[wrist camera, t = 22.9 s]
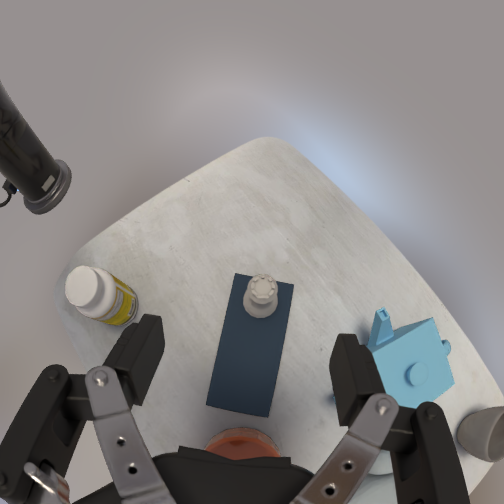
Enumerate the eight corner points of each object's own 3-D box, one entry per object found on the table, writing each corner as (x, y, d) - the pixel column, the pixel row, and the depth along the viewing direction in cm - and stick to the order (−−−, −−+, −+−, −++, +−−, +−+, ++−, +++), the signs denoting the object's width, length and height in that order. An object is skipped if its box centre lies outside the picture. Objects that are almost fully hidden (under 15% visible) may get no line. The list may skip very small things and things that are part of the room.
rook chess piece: (255, 325, 36) (257, 316, 29) (236, 297, 37) (233, 281, 30) (284, 306, 37) (293, 291, 30) (264, 278, 38) (268, 258, 31)
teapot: (398, 298, 38) (440, 276, 28) (435, 402, 32) (483, 406, 21) (302, 342, 36) (324, 335, 25) (346, 455, 30) (378, 483, 19)
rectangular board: (267, 416, 32) (268, 417, 32) (206, 404, 33) (205, 404, 32) (293, 285, 39) (294, 284, 38) (235, 274, 39) (235, 273, 39)
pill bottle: (97, 293, 38) (56, 270, 28) (132, 278, 39) (97, 250, 29) (108, 332, 36) (65, 320, 26) (144, 318, 37) (109, 301, 27)
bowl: (198, 480, 29) (191, 495, 24) (211, 419, 32) (205, 427, 27) (271, 494, 28) (273, 509, 23) (287, 433, 31) (292, 443, 27)
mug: (441, 436, 30) (479, 445, 21) (472, 394, 32) (511, 394, 23) (466, 469, 26) (500, 479, 17) (494, 431, 28) (529, 434, 19)
